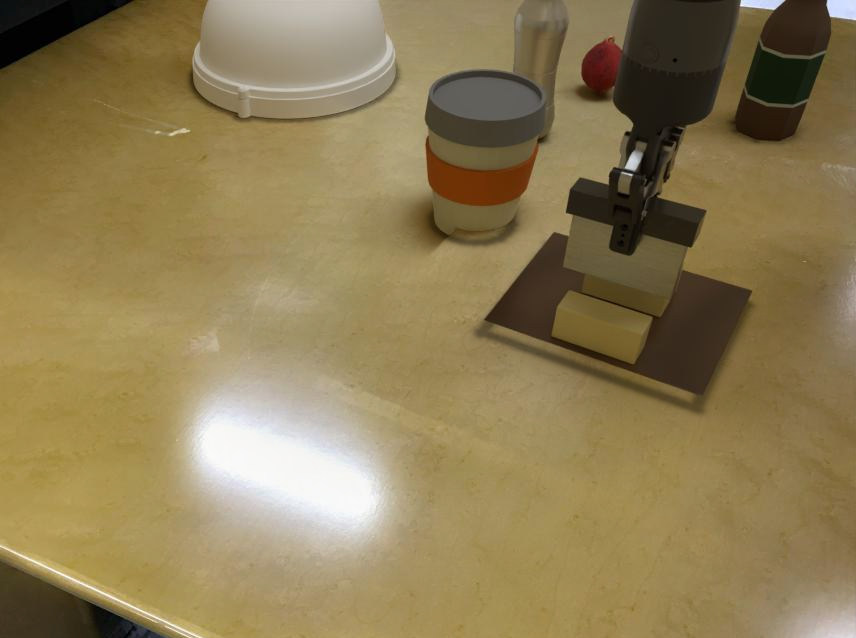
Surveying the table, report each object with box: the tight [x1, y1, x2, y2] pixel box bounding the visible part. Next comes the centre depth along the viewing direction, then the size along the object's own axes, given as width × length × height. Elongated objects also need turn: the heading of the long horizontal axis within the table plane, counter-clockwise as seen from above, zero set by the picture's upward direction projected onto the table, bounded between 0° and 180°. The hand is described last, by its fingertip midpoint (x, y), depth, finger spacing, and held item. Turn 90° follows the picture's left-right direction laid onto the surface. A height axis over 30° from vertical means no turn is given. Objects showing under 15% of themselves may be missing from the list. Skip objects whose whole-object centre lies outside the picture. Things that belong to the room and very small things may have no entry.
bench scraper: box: [563, 176, 707, 300], centre depth 79 cm, size 11×2×8 cm, turn 57°
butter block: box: [582, 260, 686, 317], centre depth 89 cm, size 8×5×4 cm, turn 57°
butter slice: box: [551, 290, 653, 364], centre depth 83 cm, size 8×3×4 cm, turn 57°
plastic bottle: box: [512, 0, 570, 140], centre depth 110 cm, size 6×7×20 cm
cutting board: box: [483, 231, 753, 397], centre depth 89 cm, size 21×18×2 cm
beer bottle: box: [734, 0, 832, 141], centre depth 109 cm, size 8×8×24 cm
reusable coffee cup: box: [424, 68, 546, 236], centre depth 98 cm, size 13×13×15 cm
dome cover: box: [191, 0, 397, 120], centre depth 128 cm, size 32×30×14 cm
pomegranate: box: [580, 34, 622, 95], centre depth 122 cm, size 6×6×8 cm
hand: (627, 242), depth 79 cm, fingers closed on bench scraper, 2 cm apart
